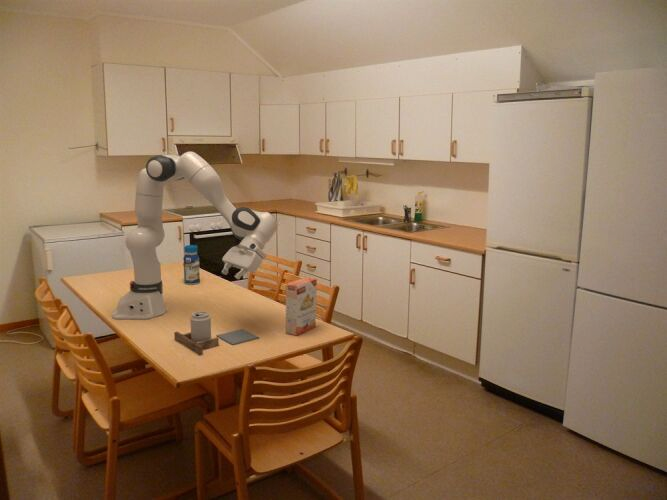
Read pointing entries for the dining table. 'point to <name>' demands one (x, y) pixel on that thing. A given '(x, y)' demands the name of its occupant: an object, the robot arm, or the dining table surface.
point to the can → (200, 326)
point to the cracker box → (300, 305)
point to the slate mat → (237, 336)
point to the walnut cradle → (195, 346)
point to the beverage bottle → (191, 265)
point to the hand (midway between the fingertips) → (229, 275)
